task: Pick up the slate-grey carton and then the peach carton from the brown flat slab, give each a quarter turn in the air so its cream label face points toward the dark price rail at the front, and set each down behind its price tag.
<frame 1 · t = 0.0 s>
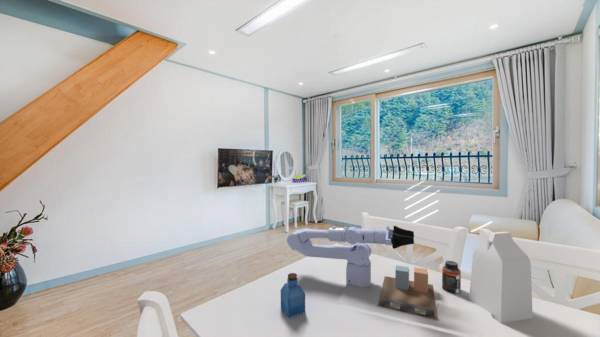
hand: (413, 237, 90), 22 cm above the table, tool horizontal, fingers open, 7 cm apart
peach carton: (420, 288, 94), point 1 cm above the table, touching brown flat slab
supplement bottle: (451, 292, 93), on the table
perfume bottle: (292, 310, 83), on the table
slate carton: (402, 286, 96), point 1 cm above the table, touching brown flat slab
milk: (498, 310, 82), on the table
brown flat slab: (407, 297, 90), on the table
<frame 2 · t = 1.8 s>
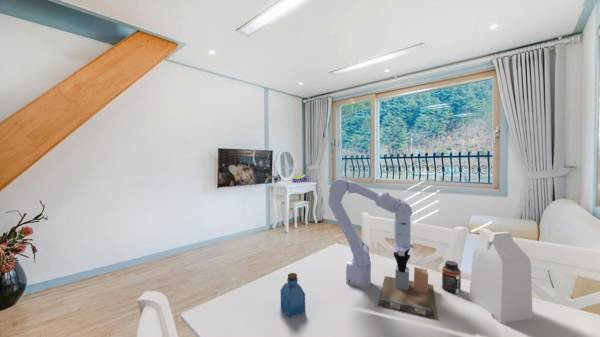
hand: (402, 267, 95), 8 cm above the table, tool pointing down, fingers open, 7 cm apart
nothing on the table moved.
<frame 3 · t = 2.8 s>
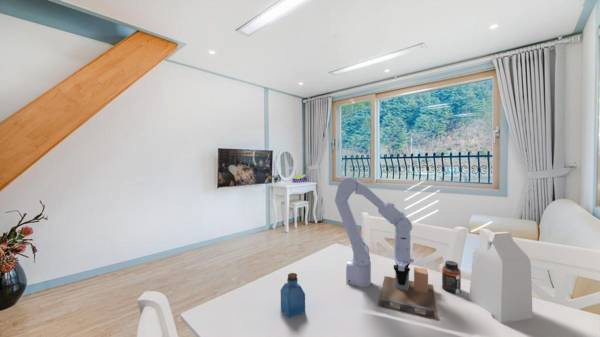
hand: (402, 281, 96), 3 cm above the table, tool pointing down, fingers closed on slate carton, 4 cm apart
slate carton: (402, 286, 96), point 1 cm above the table, touching gripper, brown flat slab
everything else where it was.
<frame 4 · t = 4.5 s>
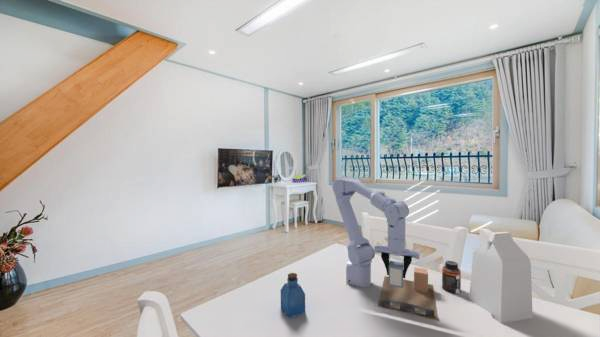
hand: (396, 275, 86), 10 cm above the table, tool pointing down, fingers closed on slate carton, 4 cm apart
slate carton: (396, 283, 86), point 7 cm above the table, touching gripper
everything else where it was.
when the fingers open (4 cm above the table, at t = 6.1 s): slate carton stays where it is, resting on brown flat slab.
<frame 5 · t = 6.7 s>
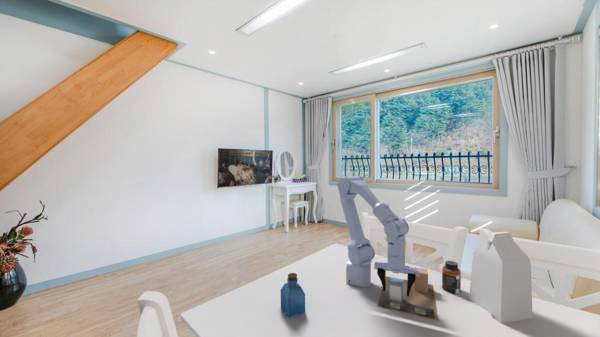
hand: (396, 292, 86), 4 cm above the table, tool pointing down, fingers open, 7 cm apart
slate carton: (395, 300, 86), point 1 cm above the table, touching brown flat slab
everything else where it was.
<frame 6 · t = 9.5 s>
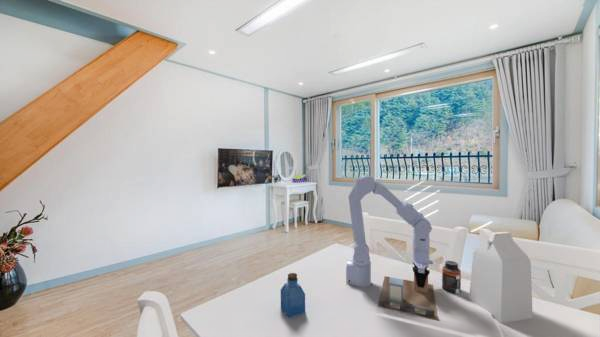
hand: (420, 283, 94), 3 cm above the table, tool pointing down, fingers closed on peach carton, 4 cm apart
peach carton: (420, 288, 94), point 1 cm above the table, touching gripper, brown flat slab
everything else where it was.
when the fingers open (4 cm above the table, at t = 12.7 s): peach carton stays where it is, resting on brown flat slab.
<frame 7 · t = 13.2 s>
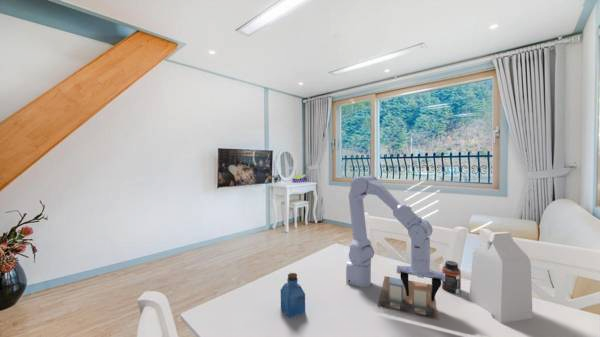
hand: (419, 297, 83), 4 cm above the table, tool pointing down, fingers open, 7 cm apart
peach carton: (419, 305, 83), point 1 cm above the table, touching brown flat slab
slate carton: (395, 300, 86), point 1 cm above the table, touching gripper, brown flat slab
everything else where it was.
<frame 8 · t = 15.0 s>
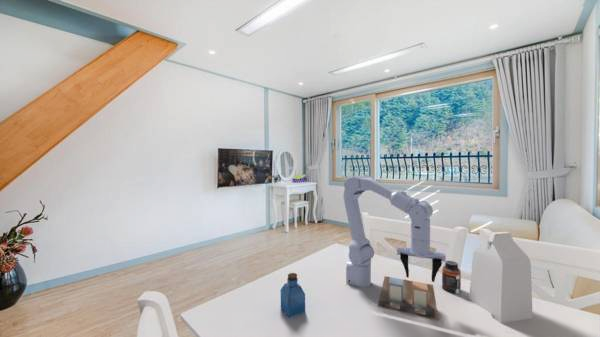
hand: (420, 278, 83), 10 cm above the table, tool pointing down, fingers open, 7 cm apart
slate carton: (395, 300, 86), point 1 cm above the table, touching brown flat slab
everything else where it was.
at the end: slate carton 0.2 cm from the target spot, point 1.0 cm above the table; peach carton 0.2 cm from the target spot, point 1.0 cm above the table; peach carton tilted 0° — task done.
